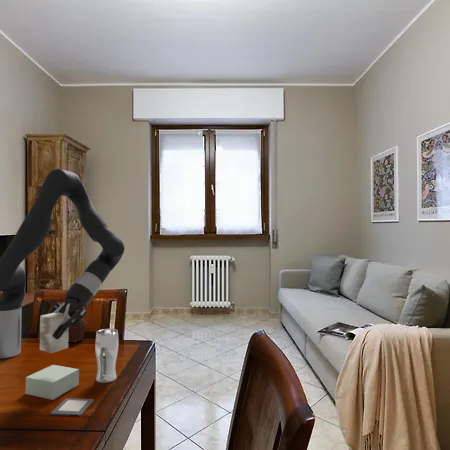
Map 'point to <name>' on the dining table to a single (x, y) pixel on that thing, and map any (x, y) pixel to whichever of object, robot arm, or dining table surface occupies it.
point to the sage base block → (52, 381)
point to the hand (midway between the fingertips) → (48, 335)
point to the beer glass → (106, 354)
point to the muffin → (77, 331)
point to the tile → (72, 407)
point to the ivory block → (48, 328)
